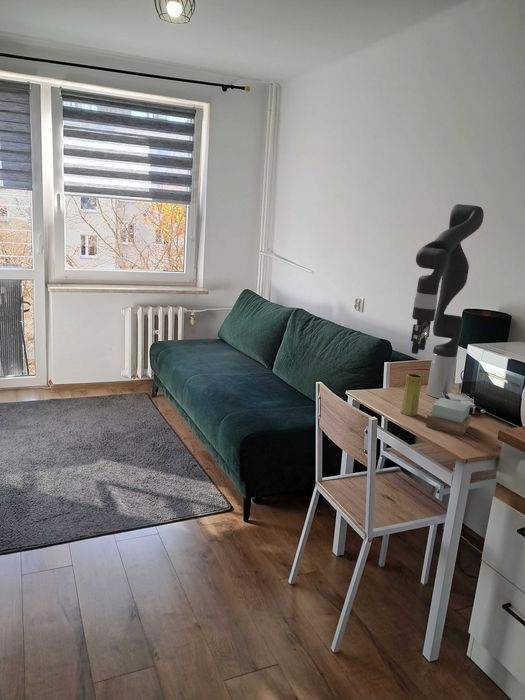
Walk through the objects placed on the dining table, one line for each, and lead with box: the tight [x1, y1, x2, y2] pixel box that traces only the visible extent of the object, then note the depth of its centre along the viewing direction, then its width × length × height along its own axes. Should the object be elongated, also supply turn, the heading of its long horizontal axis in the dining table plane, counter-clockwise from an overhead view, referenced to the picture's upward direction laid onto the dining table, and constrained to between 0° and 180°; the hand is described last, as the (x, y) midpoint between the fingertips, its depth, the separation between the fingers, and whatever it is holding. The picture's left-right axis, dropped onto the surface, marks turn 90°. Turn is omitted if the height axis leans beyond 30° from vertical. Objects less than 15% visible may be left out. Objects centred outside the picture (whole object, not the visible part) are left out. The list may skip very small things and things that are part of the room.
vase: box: [400, 373, 423, 417], centre depth 200 cm, size 6×6×14 cm
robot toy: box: [442, 392, 486, 415], centre depth 211 cm, size 12×4×15 cm
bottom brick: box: [425, 411, 472, 437], centre depth 191 cm, size 12×12×4 cm
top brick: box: [431, 398, 470, 423], centre depth 190 cm, size 10×10×4 cm
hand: (418, 351), depth 196 cm, fingers open, 8 cm apart
